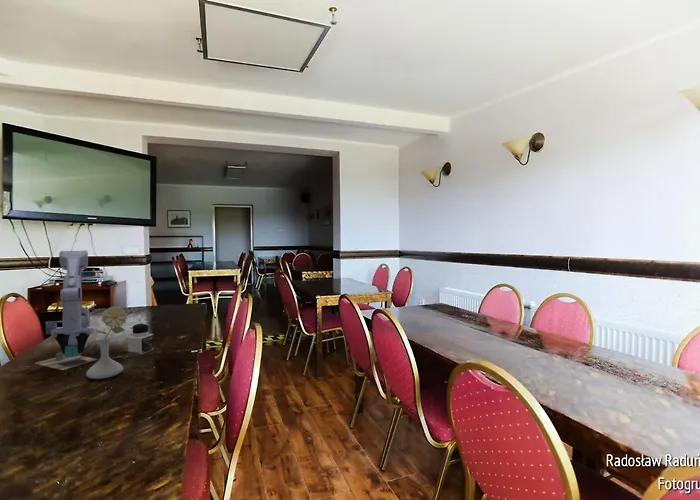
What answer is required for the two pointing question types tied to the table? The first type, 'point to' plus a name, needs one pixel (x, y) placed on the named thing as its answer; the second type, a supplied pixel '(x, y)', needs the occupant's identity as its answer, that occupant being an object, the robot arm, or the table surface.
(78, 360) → the board
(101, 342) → the flower in vase
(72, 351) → the cap
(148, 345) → the medicine bottle
